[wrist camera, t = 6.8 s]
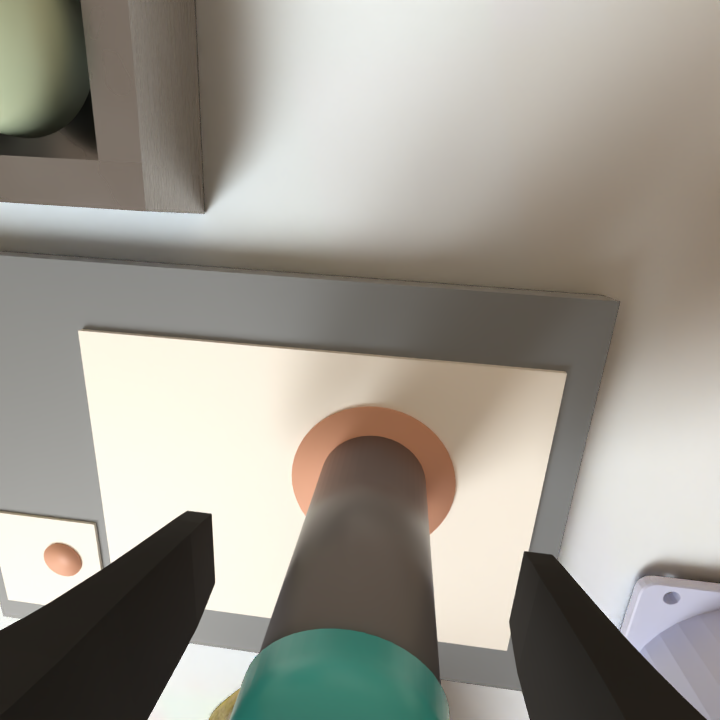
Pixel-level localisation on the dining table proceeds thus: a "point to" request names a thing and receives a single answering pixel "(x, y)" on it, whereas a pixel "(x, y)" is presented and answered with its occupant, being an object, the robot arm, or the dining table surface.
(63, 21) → the button
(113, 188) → the button housing
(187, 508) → the drawing board
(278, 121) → the dining table surface
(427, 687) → the marker
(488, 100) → the dining table surface
